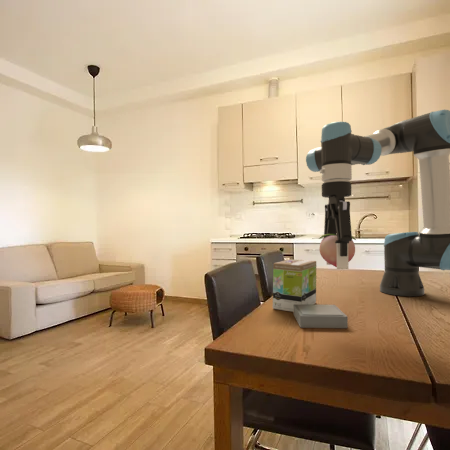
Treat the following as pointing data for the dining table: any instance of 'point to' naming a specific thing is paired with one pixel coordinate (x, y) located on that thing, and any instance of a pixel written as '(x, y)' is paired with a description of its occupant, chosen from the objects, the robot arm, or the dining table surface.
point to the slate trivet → (320, 316)
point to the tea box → (294, 283)
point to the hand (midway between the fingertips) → (336, 266)
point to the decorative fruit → (334, 249)
